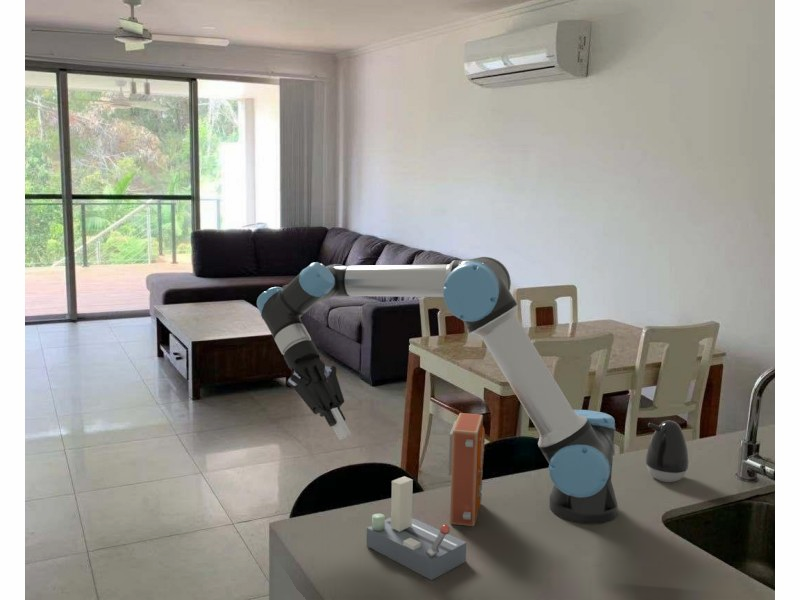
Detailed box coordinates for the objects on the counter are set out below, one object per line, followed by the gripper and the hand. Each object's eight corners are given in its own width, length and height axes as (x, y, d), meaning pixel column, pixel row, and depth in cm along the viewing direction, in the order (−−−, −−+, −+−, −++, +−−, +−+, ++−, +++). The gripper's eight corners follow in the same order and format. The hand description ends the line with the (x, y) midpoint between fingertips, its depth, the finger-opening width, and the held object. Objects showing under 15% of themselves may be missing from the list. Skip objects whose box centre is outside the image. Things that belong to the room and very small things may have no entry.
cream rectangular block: (391, 527, 151) (391, 481, 149) (403, 522, 153) (404, 476, 152) (399, 531, 149) (400, 484, 147) (411, 525, 152) (412, 479, 150)
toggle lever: (424, 552, 140) (440, 524, 137) (431, 548, 142) (447, 521, 138) (430, 559, 139) (446, 531, 136) (437, 555, 141) (453, 528, 137)
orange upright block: (483, 500, 174) (477, 529, 160) (453, 497, 175) (444, 526, 161) (486, 412, 171) (480, 434, 156) (456, 410, 172) (447, 431, 157)
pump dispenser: (640, 469, 195) (644, 413, 192) (681, 471, 193) (686, 415, 191) (647, 484, 185) (652, 426, 182) (691, 487, 183) (696, 428, 181)
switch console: (366, 545, 152) (366, 524, 151) (400, 530, 159) (401, 509, 158) (431, 580, 139) (432, 556, 139) (465, 561, 146) (466, 538, 146)
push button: (369, 527, 151) (369, 516, 150) (378, 523, 152) (378, 512, 152) (378, 531, 149) (378, 520, 148) (387, 527, 151) (387, 516, 150)
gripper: (312, 352, 176) (359, 438, 168) (267, 361, 167) (313, 452, 158) (327, 334, 172) (375, 421, 163) (281, 342, 163) (329, 435, 154)
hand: (345, 436), depth 161 cm, fingers closed
